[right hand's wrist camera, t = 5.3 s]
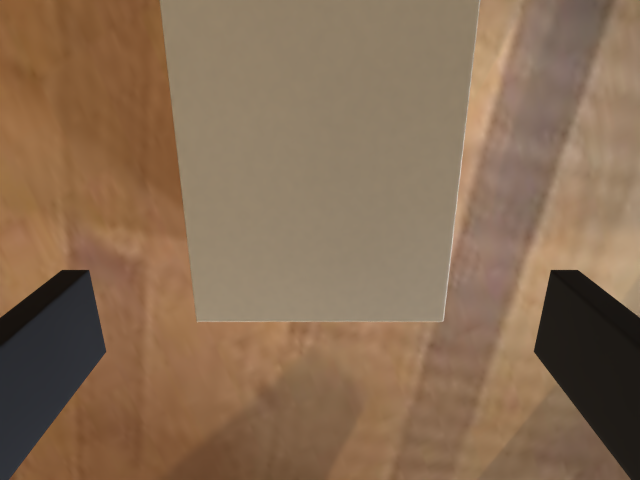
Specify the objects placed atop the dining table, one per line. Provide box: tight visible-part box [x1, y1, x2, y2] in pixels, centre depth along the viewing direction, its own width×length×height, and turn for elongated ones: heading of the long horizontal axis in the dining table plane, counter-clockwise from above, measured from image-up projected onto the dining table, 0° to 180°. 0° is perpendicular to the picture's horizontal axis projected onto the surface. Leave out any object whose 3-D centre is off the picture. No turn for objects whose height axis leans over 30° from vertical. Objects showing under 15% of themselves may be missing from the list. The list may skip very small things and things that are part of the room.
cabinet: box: [160, 0, 480, 322], centre depth 21 cm, size 18×11×9 cm, turn 0°
